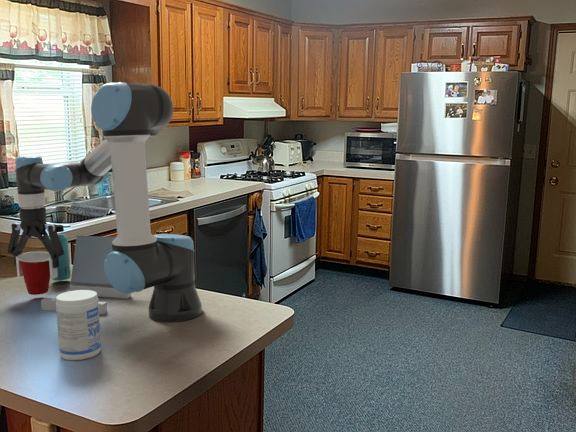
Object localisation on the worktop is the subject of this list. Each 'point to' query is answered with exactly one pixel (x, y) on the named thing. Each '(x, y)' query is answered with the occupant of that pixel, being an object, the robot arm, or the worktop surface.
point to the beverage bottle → (63, 257)
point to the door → (91, 260)
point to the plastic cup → (35, 271)
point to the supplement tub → (78, 324)
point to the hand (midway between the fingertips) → (37, 276)
